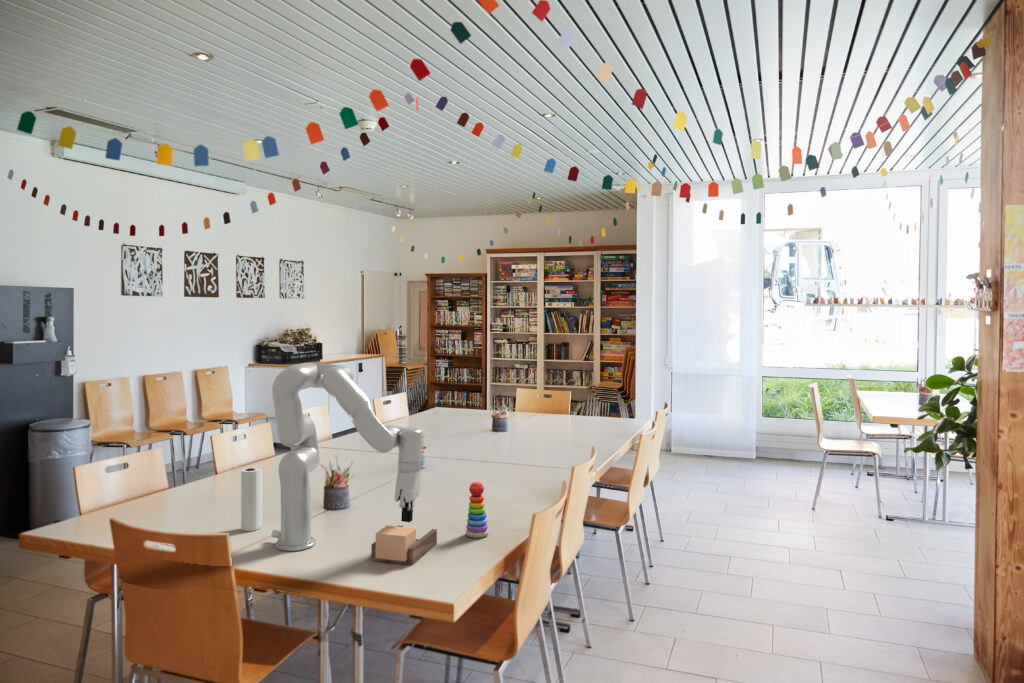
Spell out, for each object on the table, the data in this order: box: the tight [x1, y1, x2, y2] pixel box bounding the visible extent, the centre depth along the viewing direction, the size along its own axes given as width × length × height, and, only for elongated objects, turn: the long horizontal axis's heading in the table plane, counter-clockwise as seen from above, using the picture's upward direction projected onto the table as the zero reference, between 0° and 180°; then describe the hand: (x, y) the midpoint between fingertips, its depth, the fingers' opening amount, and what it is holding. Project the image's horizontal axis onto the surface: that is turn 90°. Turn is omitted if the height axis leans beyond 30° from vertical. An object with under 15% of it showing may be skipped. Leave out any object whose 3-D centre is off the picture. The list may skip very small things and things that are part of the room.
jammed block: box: [375, 525, 417, 561], centre depth 213 cm, size 10×8×8 cm
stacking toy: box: [465, 481, 489, 539], centre depth 238 cm, size 8×8×19 cm
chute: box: [370, 525, 438, 566], centre depth 221 cm, size 14×20×5 cm
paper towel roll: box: [240, 467, 265, 532], centre depth 241 cm, size 7×6×21 cm
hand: (406, 521), depth 224 cm, fingers closed
